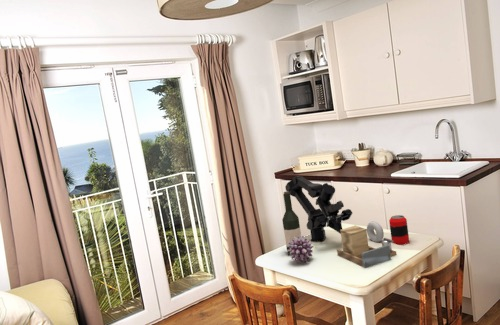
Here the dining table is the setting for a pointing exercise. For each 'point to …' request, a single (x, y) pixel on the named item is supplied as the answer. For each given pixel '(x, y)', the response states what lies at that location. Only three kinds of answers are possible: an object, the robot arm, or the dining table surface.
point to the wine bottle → (290, 222)
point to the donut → (371, 233)
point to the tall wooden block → (354, 240)
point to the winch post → (388, 242)
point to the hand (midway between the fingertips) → (341, 233)
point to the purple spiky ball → (300, 248)
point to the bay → (368, 256)
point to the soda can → (399, 230)
